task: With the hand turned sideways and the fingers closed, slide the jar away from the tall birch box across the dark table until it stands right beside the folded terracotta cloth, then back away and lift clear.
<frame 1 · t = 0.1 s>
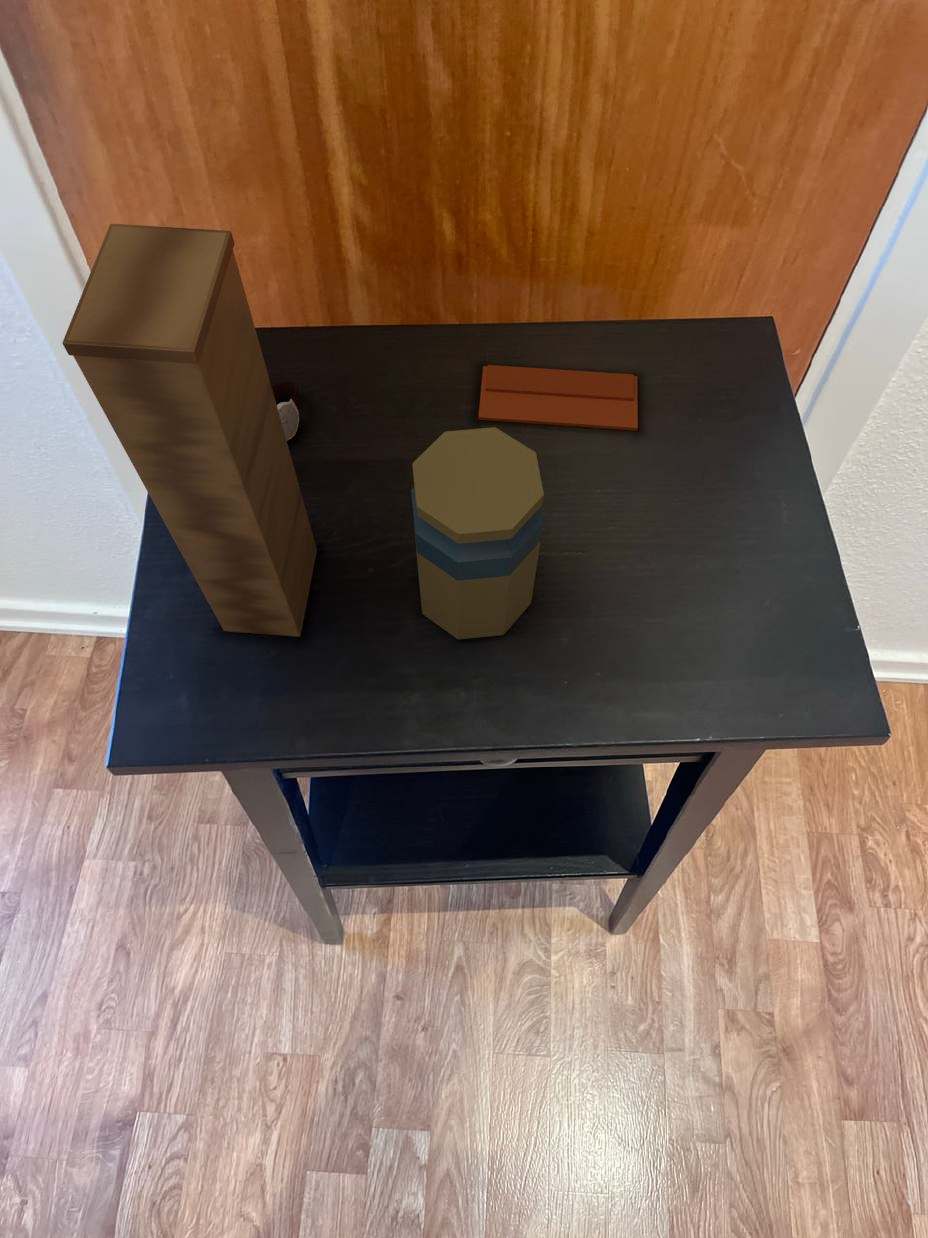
tall box: (271, 589, 68), on the table
watch: (272, 429, 76), on the table
jar: (474, 594, 68), on the table
cloth: (558, 399, 77), on the table
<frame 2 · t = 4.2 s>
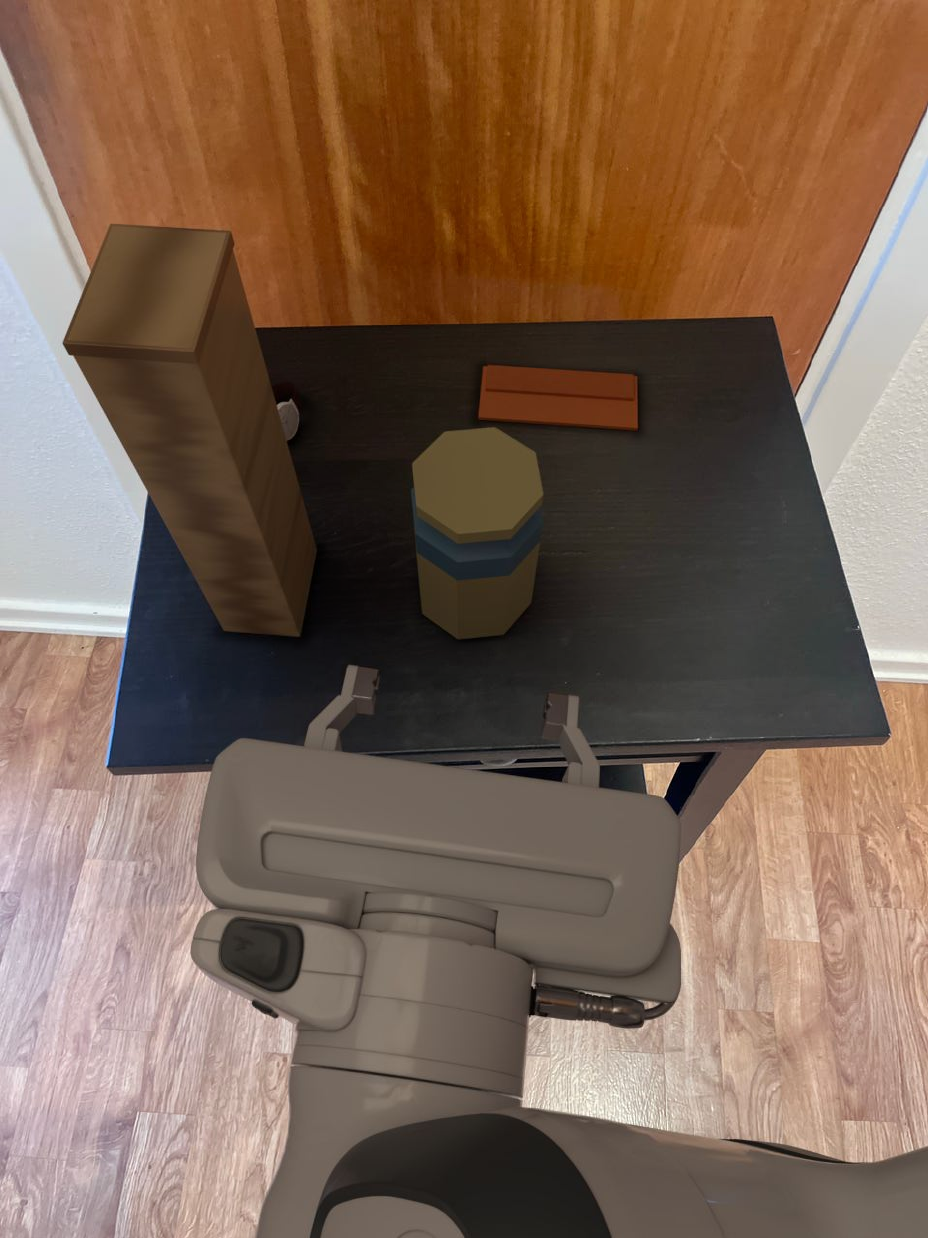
hand: (462, 684, 41), 22 cm above the table, tool horizontal, fingers open, 8 cm apart
nothing on the table moved.
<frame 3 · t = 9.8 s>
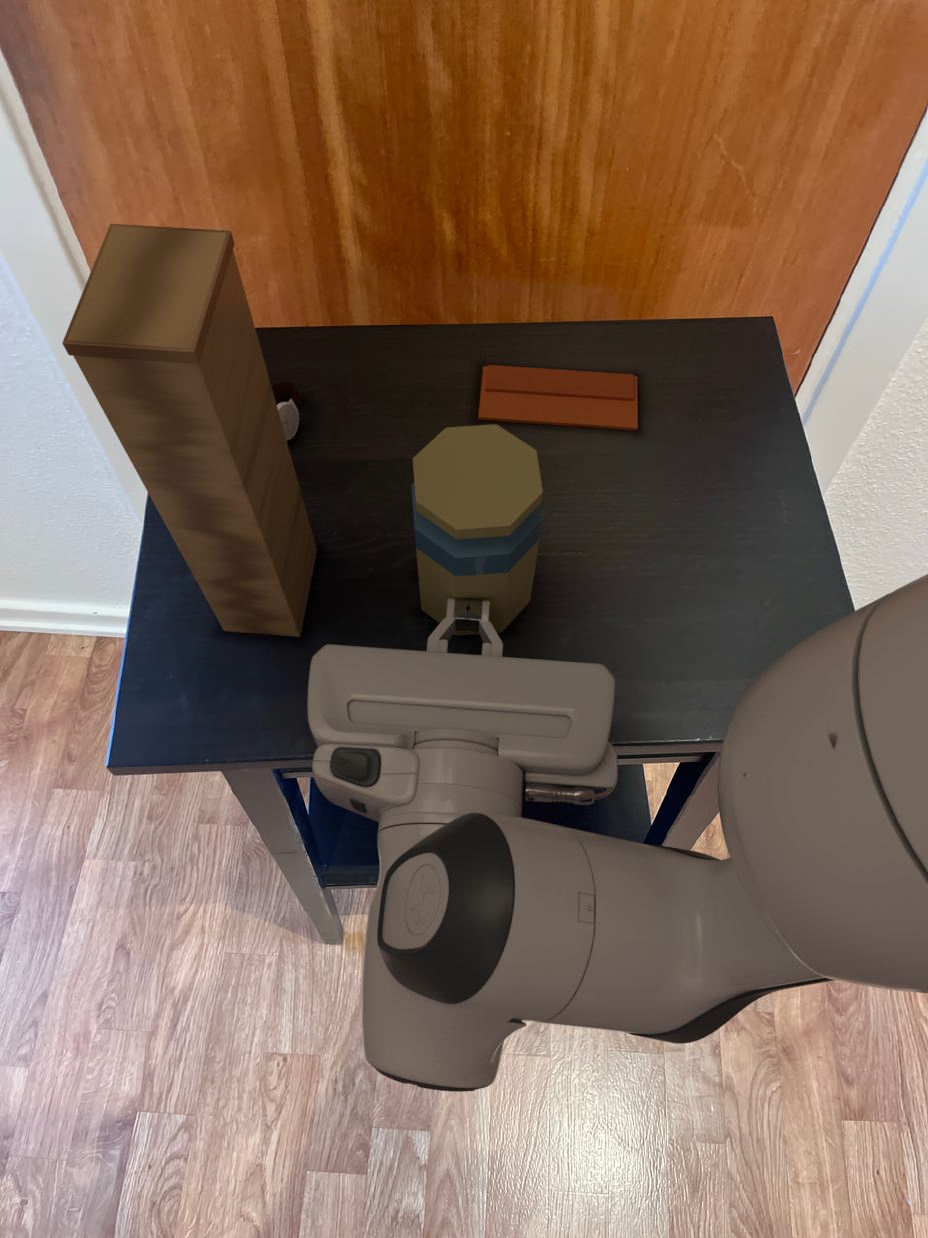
hand: (469, 602, 61), 6 cm above the table, tool horizontal, fingers closed
jar: (473, 591, 68), on the table, touching gripper
everything else where it was.
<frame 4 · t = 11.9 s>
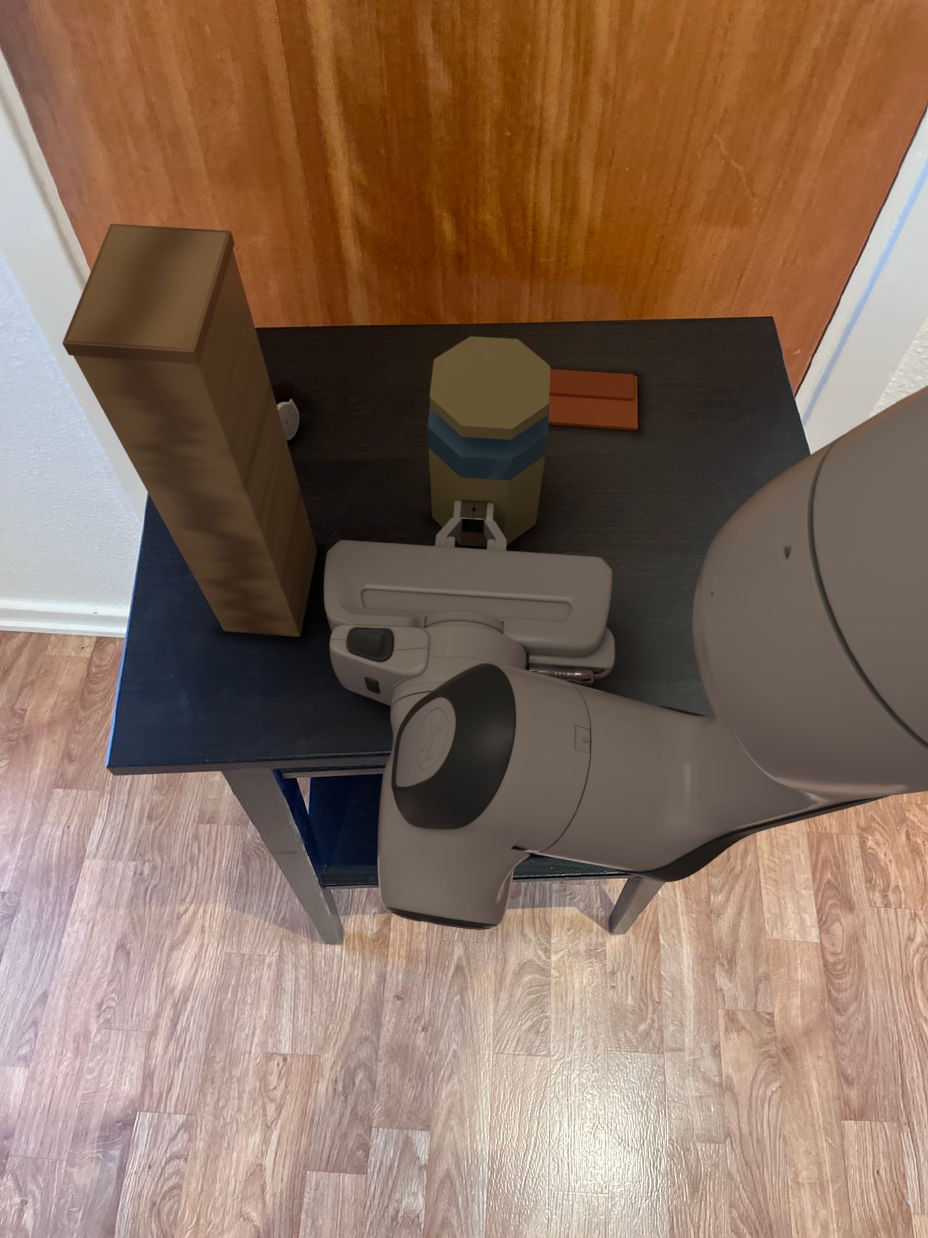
hand: (474, 505, 64), 6 cm above the table, tool horizontal, fingers closed, pressing on jar
jar: (484, 509, 72), on the table, touching gripper
everything else where it was.
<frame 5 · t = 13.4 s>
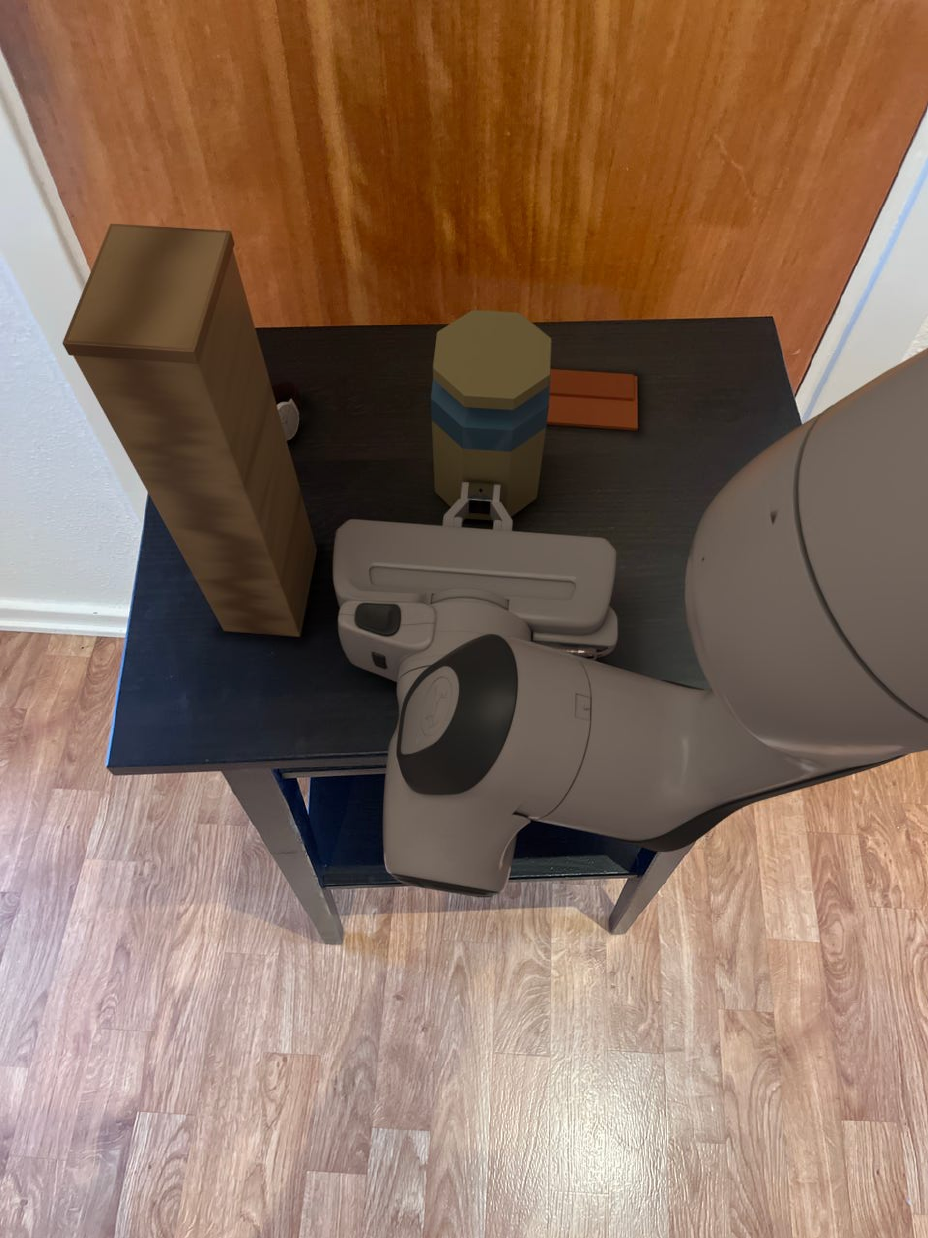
hand: (481, 487, 65), 6 cm above the table, tool horizontal, fingers closed
jar: (486, 484, 73), on the table
everything else where it was.
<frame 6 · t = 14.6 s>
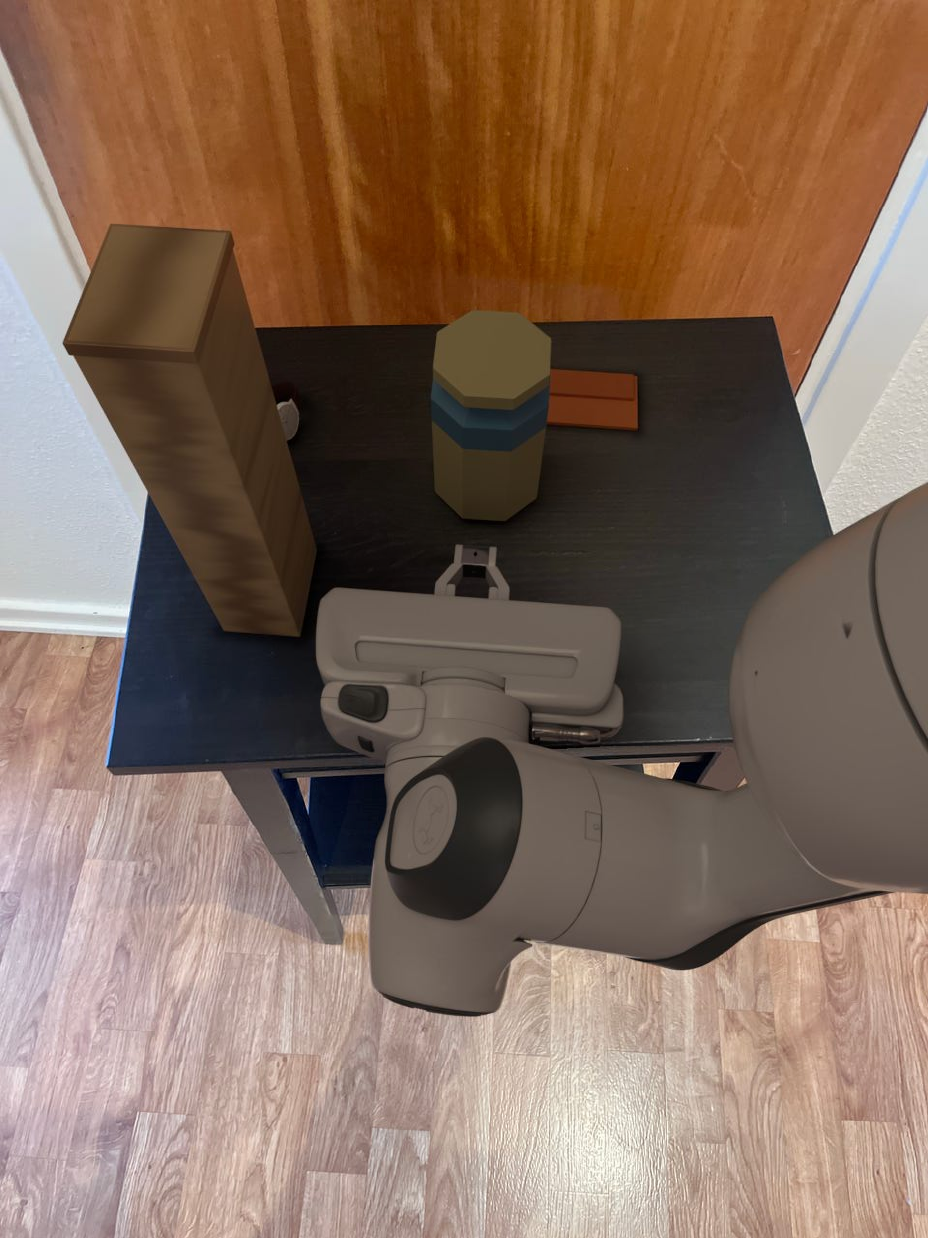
hand: (476, 549, 61), 8 cm above the table, tool horizontal, fingers closed
nothing on the table moved.
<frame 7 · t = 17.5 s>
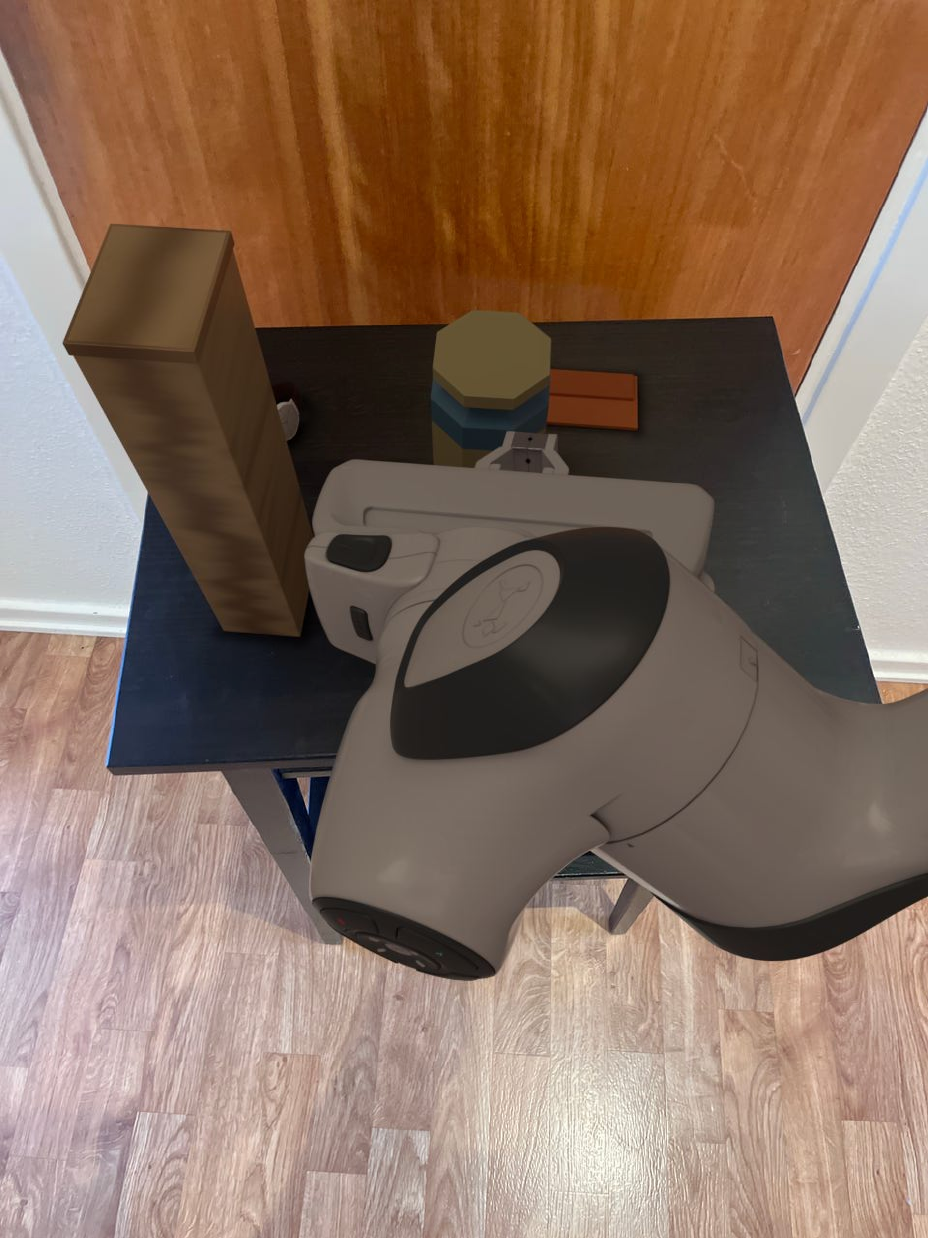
hand: (533, 442, 49), 20 cm above the table, tool horizontal, fingers closed
nothing on the table moved.
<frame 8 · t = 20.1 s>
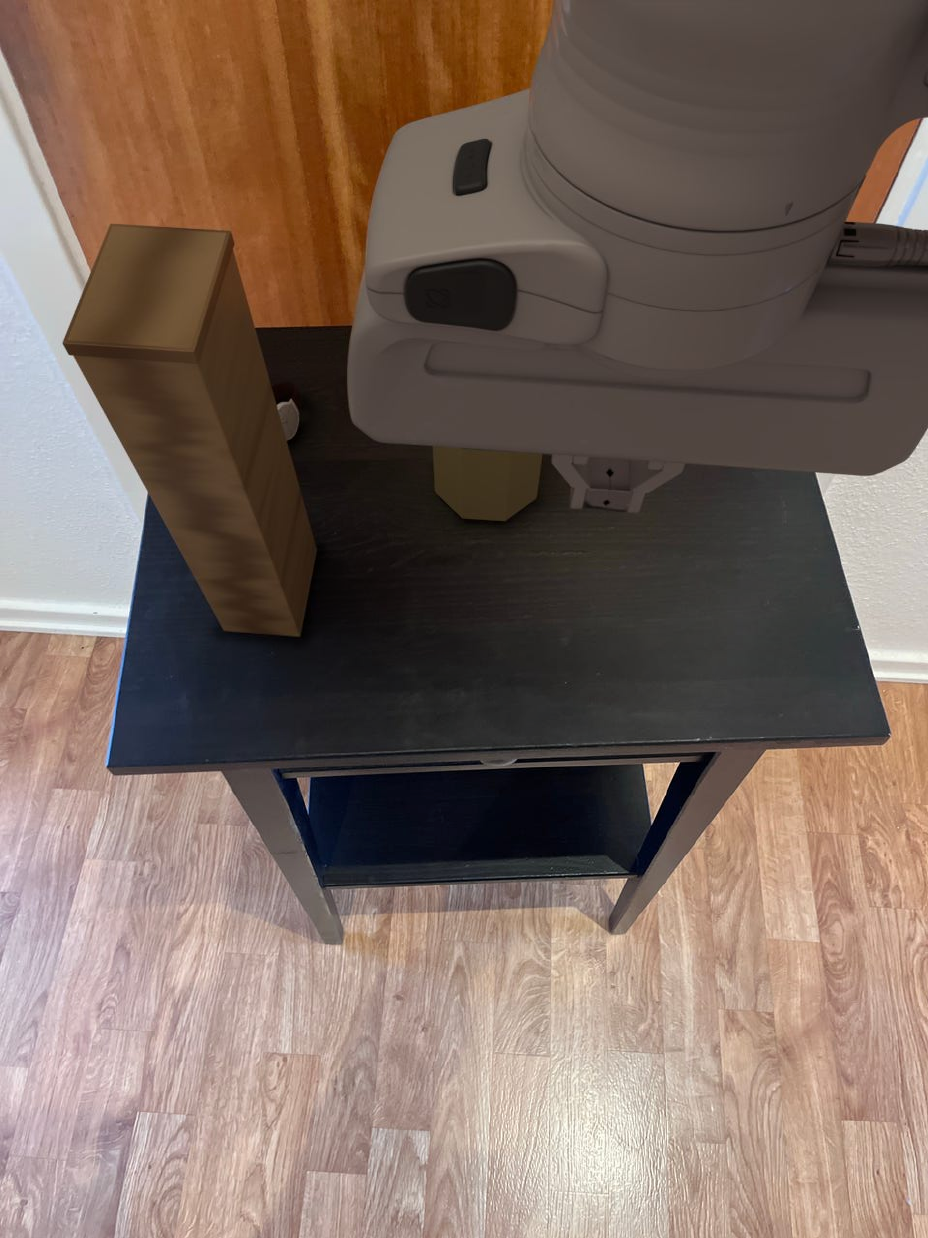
hand: (603, 498, 37), 29 cm above the table, tool pointing down, fingers closed
nothing on the table moved.
at the end: jar inside the target area on the table beside the cloth (1.2 cm from its centre), on the table; jar touching table; jar tilted 0° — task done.
